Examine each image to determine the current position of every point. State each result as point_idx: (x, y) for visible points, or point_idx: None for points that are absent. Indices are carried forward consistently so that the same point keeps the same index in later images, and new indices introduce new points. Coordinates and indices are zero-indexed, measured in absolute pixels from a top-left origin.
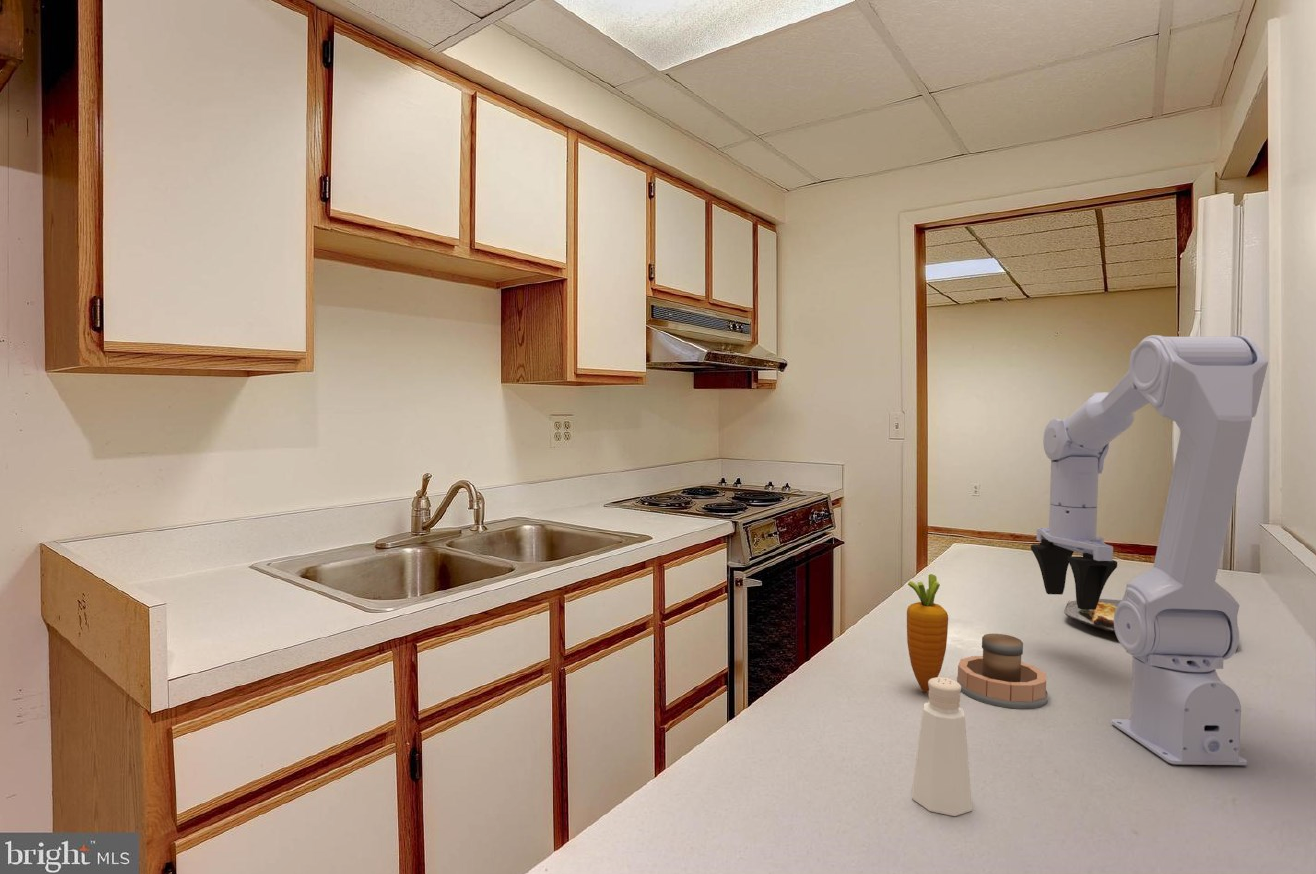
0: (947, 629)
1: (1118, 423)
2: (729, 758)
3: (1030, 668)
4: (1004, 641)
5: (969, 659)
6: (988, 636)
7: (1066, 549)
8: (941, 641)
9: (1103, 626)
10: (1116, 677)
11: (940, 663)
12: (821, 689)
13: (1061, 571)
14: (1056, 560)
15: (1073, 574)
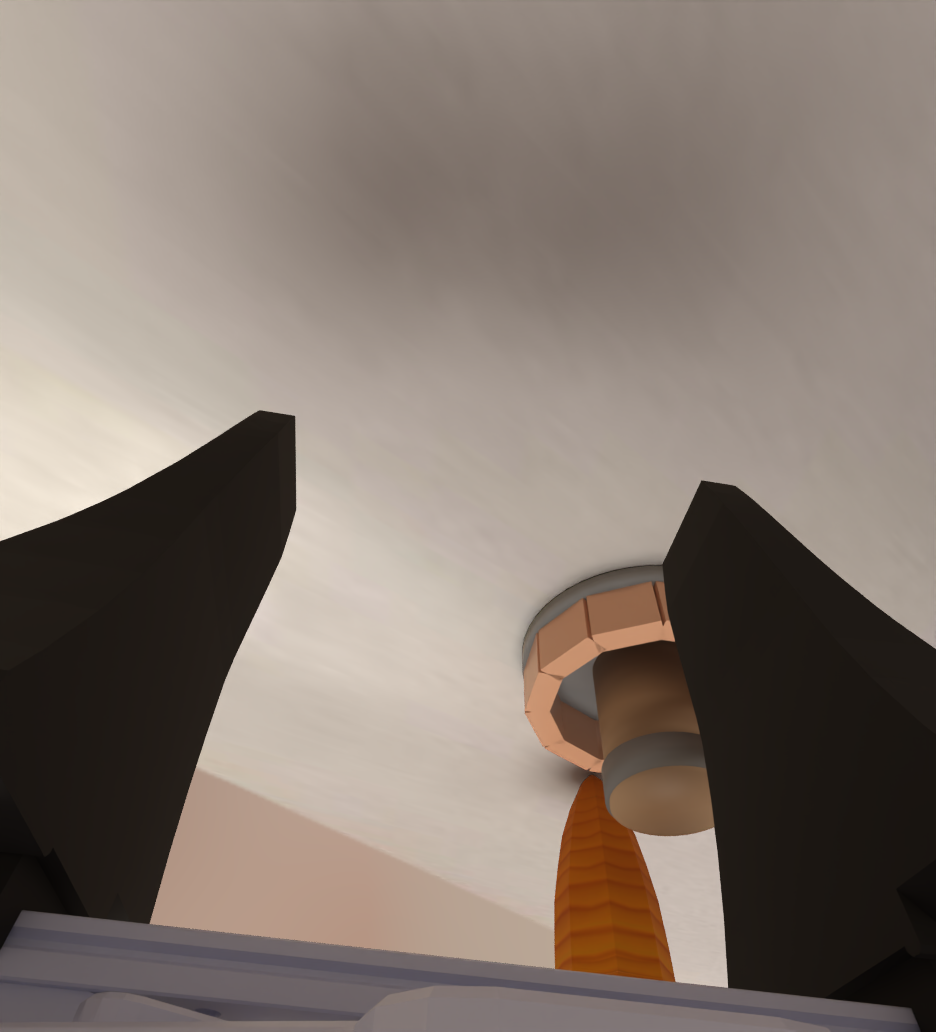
0: (656, 947)
1: None
2: (711, 978)
3: (674, 641)
4: (698, 813)
5: (549, 731)
6: (636, 821)
7: (64, 765)
8: (659, 923)
9: None
10: (669, 158)
11: (636, 849)
12: (528, 879)
13: (214, 556)
14: (166, 697)
15: (716, 830)
